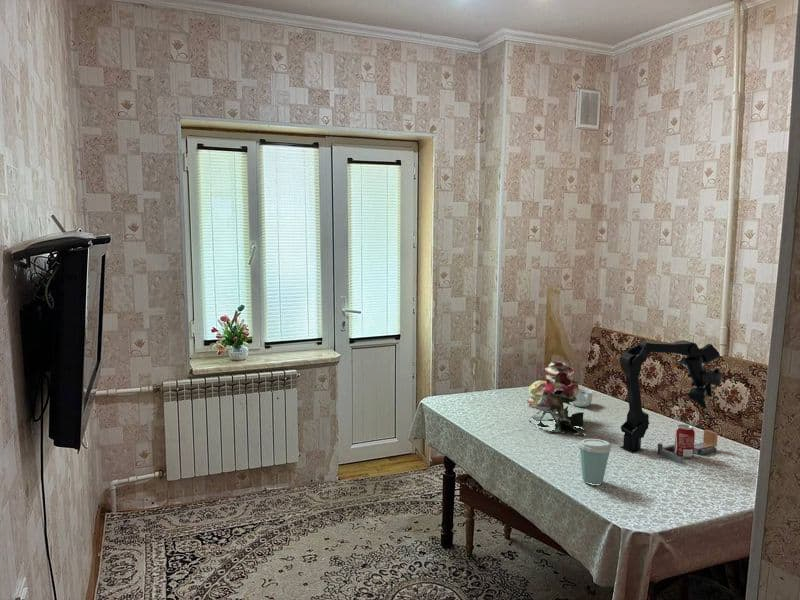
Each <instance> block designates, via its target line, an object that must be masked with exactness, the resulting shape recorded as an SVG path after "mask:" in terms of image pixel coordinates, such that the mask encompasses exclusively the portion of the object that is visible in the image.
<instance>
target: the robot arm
mask: <svg viewBox="0 0 800 600" xmlns="http://www.w3.org/2000/svg"><path fill="white" fill-rule="evenodd" d="M651 353H662V354H663V353H664V354H666V353H667V354H678V355H681V356H682V357H681V359H680V360H679V361H678V362H679V364H681V365H684V366H686V369H687V372H688V374H687V377H688V378H690V379H691V382H690V385H691V386H692V387H690V389H689V391H688V393H687V397H688V399H689V400H693V401H694V402H696V403H697V404H698V405H699V406H700V407H702V408H703V409H705V410H706V409H708V408H707V405H708V404H707V402H706V401H707V400H706V398H707V397H709V398H712V397H713V390H712V385H713V386H716V387H720V386H721V385H722V383H723V376H724V374H723V372H721V369H720V368H717V367H716V368H714V370H711V369H707V368H706V367H703V364H704V365H708V364H710V363H712V362H714V361H716V360H718V359H719V358H720V357H721V356H720V355H721V354H720V352H719V351H718V350H717V349H716V347H714V345H713V344H711V343H708V344H706V345H705V346H703V347H701V348H699V346H698V344H697V343H696V342H692V341H688V340H685V339H683V340H677V341H673V342H656V341H645V340H643V341H640V342H638V344H637V345H635V346H633V347H632V348H629V349H628V350H627V351H626V352H624V353H623V354H621V356H620V357H619V364H620V367H621V370H622V372H623V374H624V375H625V380H626V391H627V392H626V393H627V400H628V411H627V413H626V421H625V422H624V423H622V424H621V426H620V430H621V432H622V433H624V434H623V439H622V440H623V441H622V442H623V444H622V445H621V446H619V448H620V449H623V450H625V451H627V452H628V453H629V452H630V453H633V454H634V453H638V452H642V451H644V448H642V446H641V445H642V438H644V436H645V434H646V432H647V430H649V425H650V424H651V423H650V419H649V414H648V413H646V412H645V411H643V406H642V398H641V396H642V395H641V387H640V379H639V378H640V377H639V376H640V374H641V372H642V364H643V363H644V362H646V361H647V359H648V356H649V355H650V354H651ZM683 356H686V357H683ZM693 386H695V387H693Z"/></svg>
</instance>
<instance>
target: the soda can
mask: <svg viewBox="0 0 800 600" xmlns="http://www.w3.org/2000/svg"><path fill="white" fill-rule="evenodd" d="M695 433H696V432H695V430H694V427H693V426H692V425H690V424H683V423H682V424H677V427H675V435H674V444H675V450H674V452H673V453H674V454H677V455H679V456H682V457H683V459H691V458H693V457H694V454H695V453H694V445H695V438H696V436H695Z"/></svg>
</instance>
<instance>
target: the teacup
mask: <svg viewBox="0 0 800 600" xmlns="http://www.w3.org/2000/svg"><path fill="white" fill-rule="evenodd" d="M581 392H585V393H581ZM593 393H594V392H593V391H592V390H590V389H586V388H580V387H579V391H578V395H577V397H576V398H577V400H578V401H574V402H571V404H572V405H573V406H575V407H579V408H587V407H588V406H590V405H591V404H592V401H593Z"/></svg>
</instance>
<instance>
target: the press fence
mask: <svg viewBox="0 0 800 600" xmlns="http://www.w3.org/2000/svg"><path fill="white" fill-rule="evenodd" d="M674 450H675V443H673V444H670V445H665V446H663V443H657V455H658V456H661V457H663V458H665V459H667V460H670V461H673V462H675V463H678V464H683V463H684V458H683V457H682V456H679V455H677V454H675V453H674Z"/></svg>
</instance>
